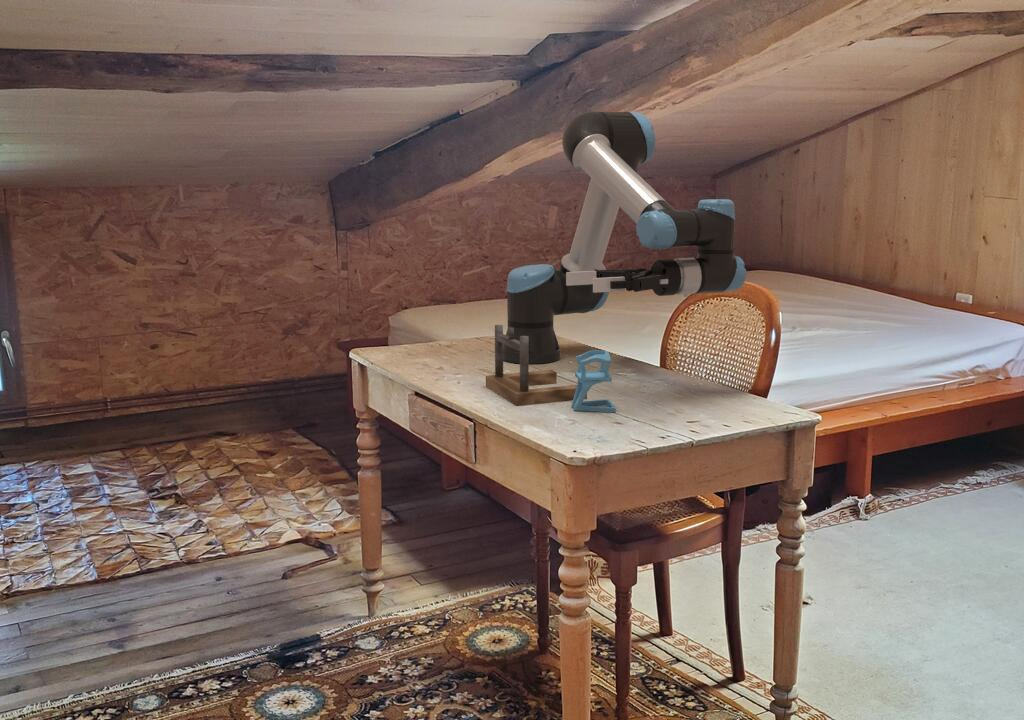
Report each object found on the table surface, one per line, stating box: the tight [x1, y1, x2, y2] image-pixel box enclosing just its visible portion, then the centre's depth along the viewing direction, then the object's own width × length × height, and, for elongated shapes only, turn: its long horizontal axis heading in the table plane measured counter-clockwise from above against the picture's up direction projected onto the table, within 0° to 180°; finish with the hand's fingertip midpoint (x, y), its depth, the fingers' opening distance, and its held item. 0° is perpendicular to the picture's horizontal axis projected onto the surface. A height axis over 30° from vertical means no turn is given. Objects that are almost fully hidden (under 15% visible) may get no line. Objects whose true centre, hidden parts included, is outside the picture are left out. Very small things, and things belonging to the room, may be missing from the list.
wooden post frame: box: [485, 324, 588, 407], centre depth 215 cm, size 16×19×15 cm
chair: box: [571, 349, 617, 413], centre depth 201 cm, size 8×8×12 cm
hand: (579, 282), depth 199 cm, fingers open, 13 cm apart
